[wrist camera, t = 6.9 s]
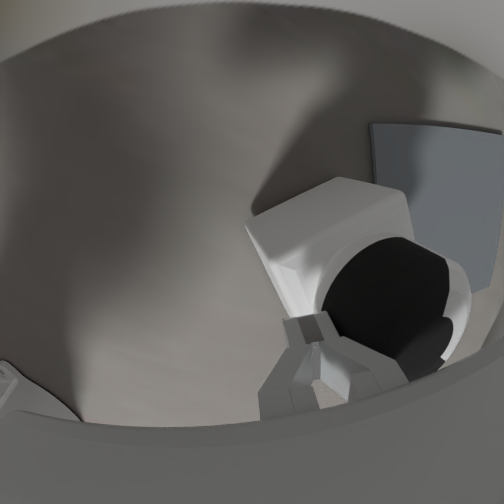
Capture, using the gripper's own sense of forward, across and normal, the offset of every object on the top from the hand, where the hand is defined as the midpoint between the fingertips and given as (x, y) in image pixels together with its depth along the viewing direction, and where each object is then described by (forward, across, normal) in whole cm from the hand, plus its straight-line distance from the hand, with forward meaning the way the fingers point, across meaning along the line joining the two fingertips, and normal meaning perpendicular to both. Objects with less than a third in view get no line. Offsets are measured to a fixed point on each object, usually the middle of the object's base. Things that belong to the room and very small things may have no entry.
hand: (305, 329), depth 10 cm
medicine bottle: (+10, +3, -1) cm, 10 cm away
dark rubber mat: (+10, +16, -1) cm, 19 cm away
